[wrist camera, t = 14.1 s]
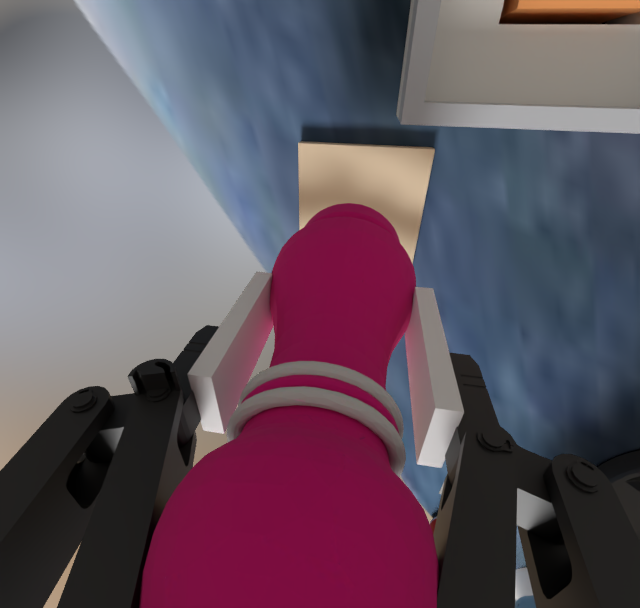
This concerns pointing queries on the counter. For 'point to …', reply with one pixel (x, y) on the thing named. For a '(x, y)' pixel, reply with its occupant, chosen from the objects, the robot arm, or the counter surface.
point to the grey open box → (518, 71)
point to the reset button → (566, 11)
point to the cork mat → (366, 182)
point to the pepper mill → (309, 448)
